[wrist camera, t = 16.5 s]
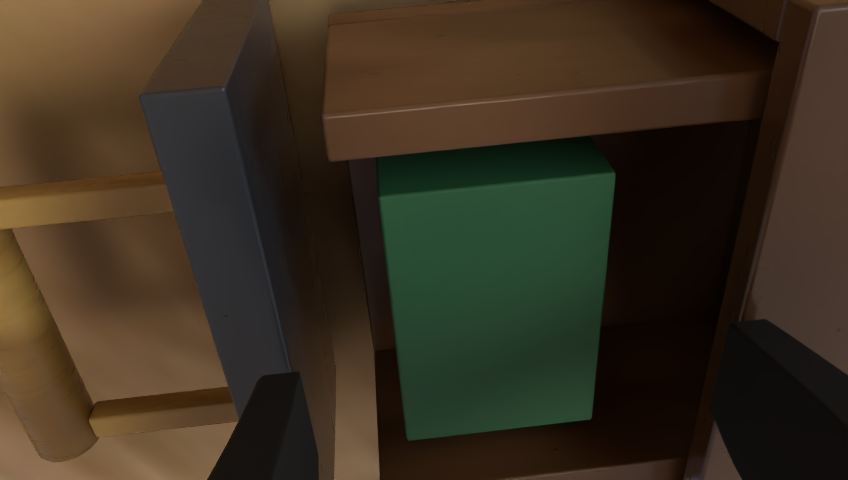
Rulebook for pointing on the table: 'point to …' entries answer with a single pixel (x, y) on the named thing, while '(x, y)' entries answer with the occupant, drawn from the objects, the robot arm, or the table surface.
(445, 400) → the snack box
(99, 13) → the table surface
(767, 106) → the cabinet
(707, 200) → the drawer
